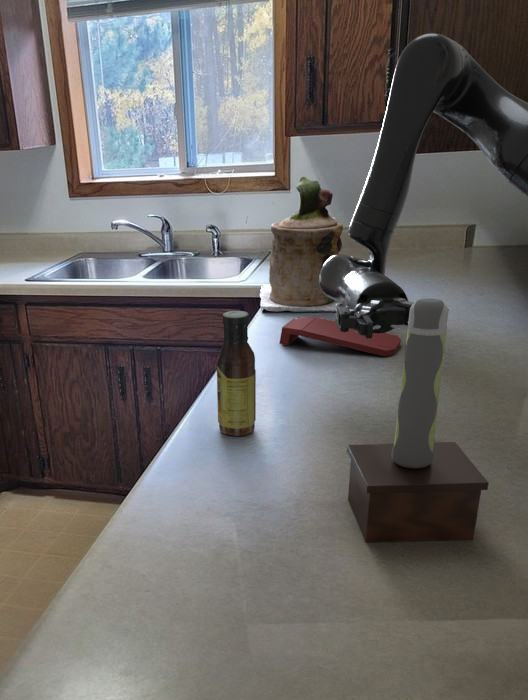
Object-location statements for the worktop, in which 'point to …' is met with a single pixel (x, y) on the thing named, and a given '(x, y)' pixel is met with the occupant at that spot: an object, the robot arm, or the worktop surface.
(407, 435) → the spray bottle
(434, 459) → the box
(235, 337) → the sauce bottle
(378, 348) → the red bent slab
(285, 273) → the cookie jar
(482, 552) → the worktop surface
